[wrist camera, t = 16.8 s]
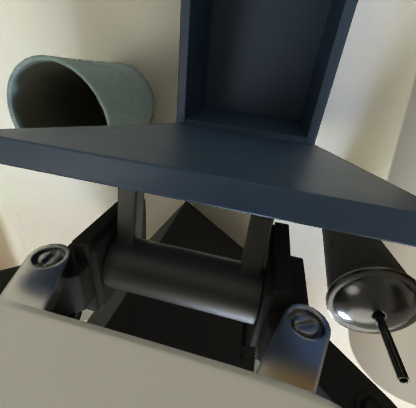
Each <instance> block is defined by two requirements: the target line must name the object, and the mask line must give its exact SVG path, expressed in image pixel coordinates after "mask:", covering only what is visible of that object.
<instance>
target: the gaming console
mask: <svg viewBox="0 0 416 408" xmlns="http://www.w3.org/2000/svg"><path fill="white" fill-rule="evenodd" d="M150 241H155V242H159V243H163V244H168V245H172V246H177V247H181V248H185V249H190V250H194V251H198V252H203V253H207V254H212V255H216V256H220V257H225V258H229V259H234V260H238V261H241V260H242V255H243V250H244V249H243V248H242V247H241V246H239V245H238V244H237V243H236V242H235V241H233V240H232V239H231V238H230V237H229V236H227V235H226V234H225V233H224V232H223V231H221V230H220V229H219V228H218V227H217V226H216V225H214V224H213V223H212V222H211V221H210V220H208V219H207V218H206V217H205V216H204V215H202V214H201V213H200V212H199V211H198V210H196V209H195V208H194V207H193V206H192V205H190V204H189V203H188V202H187V201H185V203H184V204H183V205H182V206H181V207H180V208H179V209H178V210H177V211H176V212H175V213H174V214H173V215H172V216H171V217H170V218H169V220H168V221H167V222H166V223H165V224H164V225H163V226H162V227H161V228H160V229H159V230H158V231H157V232H156V233H155V234H154V235H153V237H152V238H151V239H150ZM87 323H91V324H94V325H97V326H101V327H104V328H108V329H111V330H115V331H118V332H121V333H125V334H128V335H132V336H135V337H138V338H142V339H145V340H149V341H152V342H155V343H159V344H162V345H166V346H169V347H172V348H176V349H179V350H182V351H186V352H189V353H192V354H196V355H199V356H202V357H206V358H209V359H212V360H216V361H219V362H222V363H226V364H229V365H232V366H236V367H239V368H242V369H245V370H248V371H251V372H254V365H255V357H254V349H255V347H253V346H250V336H251V326H252V324H249V323H245V322H241V321H237V320H233V319H230V318H226V317H222V316H218V315H214V314H210V313H207V312H203V311H199V310H195V309H191V308H188V307H184V306H180V305H176V304H172V303H169V302H165V301H161V300H157V299H153V298H149V297H146V296H142V295H138V294H134V293H130V292H127V291H123V290H119V289H117V290H116V292H115V293H114V294H113V296H112V297H111V299H110V300H109V302H108V303H107V304H106V305H102V306H101V307H100V309H99V310H98V312H96V311H94V312H93V314H92V315H91V316H90V318H89V319H88V321H87Z"/></svg>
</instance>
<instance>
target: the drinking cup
mask: <svg viewBox="0 0 416 408" xmlns="http://www.w3.org/2000/svg"><path fill="white" fill-rule="evenodd" d="M322 232H323V243H324V254H325V265H326V276H327V286H328V291H327V294H326V305H327V309H328V311H329V313H330V315H331V316H332V317H333V318H334V319H335V320H336V321H337V322H338V323H339V324H341V325H342V326H344V327H346V328H348V329H351V330H354V331H357V332H361V333H369V334H381V337H382V339H383V342H384V344H385V347H386V350H387V352H388V355H389V358H390V360H391V363H392V366H393V369H394V371H395V374H396V377H397V379H398V381H399V382H400V383H408V382H409V381H410V380H409V377H408V375H407V372H406V370H405V367H404V365H403V363H402V360H401V358H400V355H399V353H398V350H397V348H396V346H395V343H394V341H393V338H392V336H391V334H390V332H395V331H398V330H401V329H403V328H406V327H408V326H410V325H411V324H413V323H414V322H415V321H416V281H415V279H413V278H412V277H411V276H409V275H408V274H407V273H406V272H405V271H404V269H403V268H402V267H401V266H400V264H399V263H398V262H397V260H396V259H395V258H394V257H393V255H392V254H391V253H390V251H389V250H388V249H387V248H386V247H385V245H384V244H383V242H382V241H381V240H378V239H373V238H368V237H363V236H358V235H353V234H348V233H343V232H338V231H334V230H329V229H324V228H322Z"/></svg>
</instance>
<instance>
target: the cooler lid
mask: <svg viewBox="0 0 416 408" xmlns="http://www.w3.org/2000/svg"><path fill="white" fill-rule="evenodd" d="M0 164H4V165H9V166H14V167H19V168H24V169H29V170H34V171H39V172H44V173H49V174H54V175H59V176H64V177H69V178H74V179H79V180H84V181H89V182H94V183H99V184H104V185H109V186H114V187H118V216H117V238H116V239H115V240H114V241H113V243H112V244H111V246H110V248H109V249H108V252H107V254H106V257H105V260H104V264H103V270H102V278H103V282H104V284H105V285H106V286H108V287H111V288H115V289H119V290H123V291H127V292H130V293H134V294H138V295H142V296H146V297H149V298H153V299H157V300H161V301H165V302H169V303H172V304H176V305H180V306H184V307H188V308H191V309H195V310H199V311H203V312H207V313H210V314H214V315H218V316H222V317H226V318H230V319H233V320H237V321H241V322H245V323H249V324H252V325H253V324H255V322H256V320H257V317H258V314H259V309H260V305H261V300H262V294H263V287H264V279H265V269H264V267H263V262H264V258H265V254H266V250H267V246H268V241H269V237H270V233H271V229H272V225H273V220H274V219H279V220H284V221H289V222H294V223H299V224H304V225H309V226H314V227H319V228H324V229H329V230H334V231H338V232H343V233H348V234H353V235H358V236H363V237H368V238H373V239H378V240H383V241H388V242H393V243H398V244H403V245H408V246H413V247H416V196H414V195H413V194H411V193H409V192H407V191H405V190H403V189H401V188H399V187H397V186H395V185H393V184H391V183H389V182H387V181H385V180H383V179H381V178H379V177H377V176H375V175H373V174H371V173H369V172H367V171H365V170H363V169H361V168H360V167H358V166H356V165H354V164H352V163H350V162H348V161H346V160H344V159H342V158H340V157H338V156H336V155H334V154H332V153H330V152H328V151H326V150H324V149H322V148H320V147H318V146H316V145H314V144H307V143H301V142H294V141H288V140H282V139H275V138H269V137H262V136H256V135H250V134H243V133H237V132H230V131H224V130H217V129H211V128H205V127H198V126H192V125H185V124H179V123H160V124H133V125H105V126H78V127H50V128H22V129H0ZM144 193H149V194H154V195H159V196H164V197H169V198H174V199H179V200H184V201H189V202H194V203H199V204H204V205H209V206H214V207H219V208H224V209H229V210H234V211H239V212H244V213H249V214H251V216H250V221H249V226H248V231H247V236H246V241H245V246H244V250H243V255H242V260H241V261H238V260H234V259H229V258H225V257H220V256H216V255H212V254H207V253H203V252H198V251H194V250H190V249H185V248H181V247H177V246H172V245H168V244H163V243H159V242H155V241H150V240H146V239H142V222H143V206H144Z"/></svg>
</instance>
